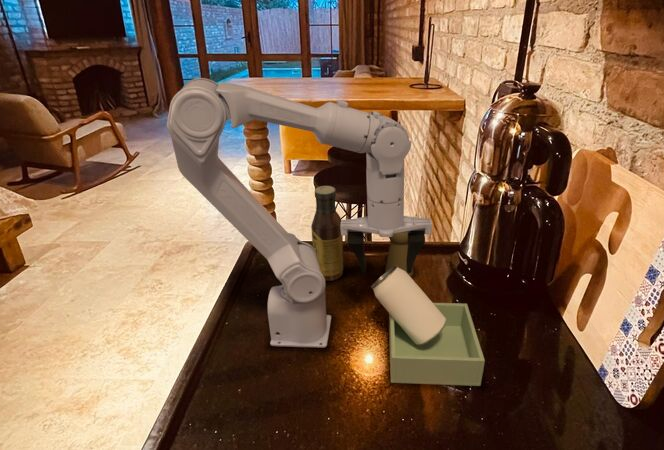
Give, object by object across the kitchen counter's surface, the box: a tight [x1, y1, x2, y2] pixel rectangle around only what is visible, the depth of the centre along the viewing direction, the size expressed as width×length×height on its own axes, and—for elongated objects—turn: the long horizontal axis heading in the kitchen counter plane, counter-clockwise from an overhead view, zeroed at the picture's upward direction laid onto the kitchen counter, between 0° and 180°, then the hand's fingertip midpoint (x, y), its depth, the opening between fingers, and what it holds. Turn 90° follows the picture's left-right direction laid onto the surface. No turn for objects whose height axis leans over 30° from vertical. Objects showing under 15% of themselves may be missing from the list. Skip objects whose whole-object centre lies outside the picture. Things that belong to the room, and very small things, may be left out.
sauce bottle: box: [310, 185, 344, 282], centre depth 83 cm, size 6×6×20 cm
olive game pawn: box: [384, 233, 414, 277], centre depth 85 cm, size 6×6×11 cm
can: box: [370, 265, 446, 345], centre depth 66 cm, size 6×6×12 cm
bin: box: [388, 302, 486, 387], centre depth 65 cm, size 13×13×5 cm
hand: (386, 269), depth 69 cm, fingers open, 7 cm apart
